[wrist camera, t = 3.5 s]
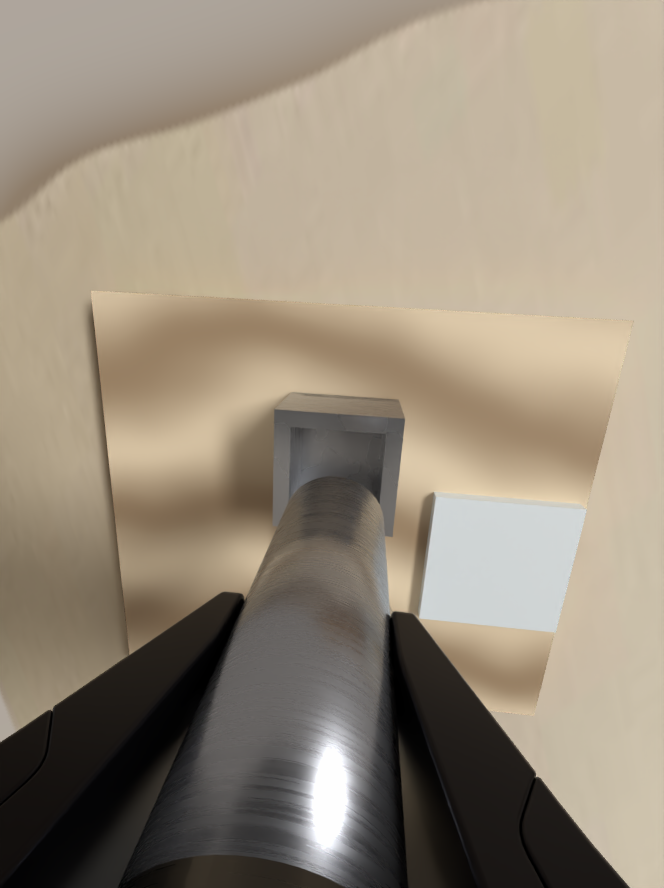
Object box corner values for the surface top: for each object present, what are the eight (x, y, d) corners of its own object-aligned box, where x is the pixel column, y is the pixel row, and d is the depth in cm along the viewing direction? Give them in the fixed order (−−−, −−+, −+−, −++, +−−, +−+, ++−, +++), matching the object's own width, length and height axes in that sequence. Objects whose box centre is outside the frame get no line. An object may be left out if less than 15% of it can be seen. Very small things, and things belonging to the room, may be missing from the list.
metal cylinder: (389, 481, 11) (486, 1319, 2) (378, 571, 12) (406, 1476, 3) (286, 471, 12) (-106, 1190, 2) (282, 560, 12) (-12, 1374, 3)
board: (523, 691, 24) (533, 715, 22) (144, 648, 25) (130, 668, 24) (612, 320, 18) (633, 320, 16) (111, 292, 19) (90, 290, 18)
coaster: (550, 623, 21) (555, 632, 20) (417, 610, 21) (419, 618, 21) (580, 503, 19) (586, 509, 18) (433, 491, 19) (435, 496, 19)
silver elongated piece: (391, 693, 23) (399, 836, 16) (262, 678, 23) (222, 811, 17) (427, 401, 18) (457, 447, 12) (264, 390, 18) (210, 428, 12)
